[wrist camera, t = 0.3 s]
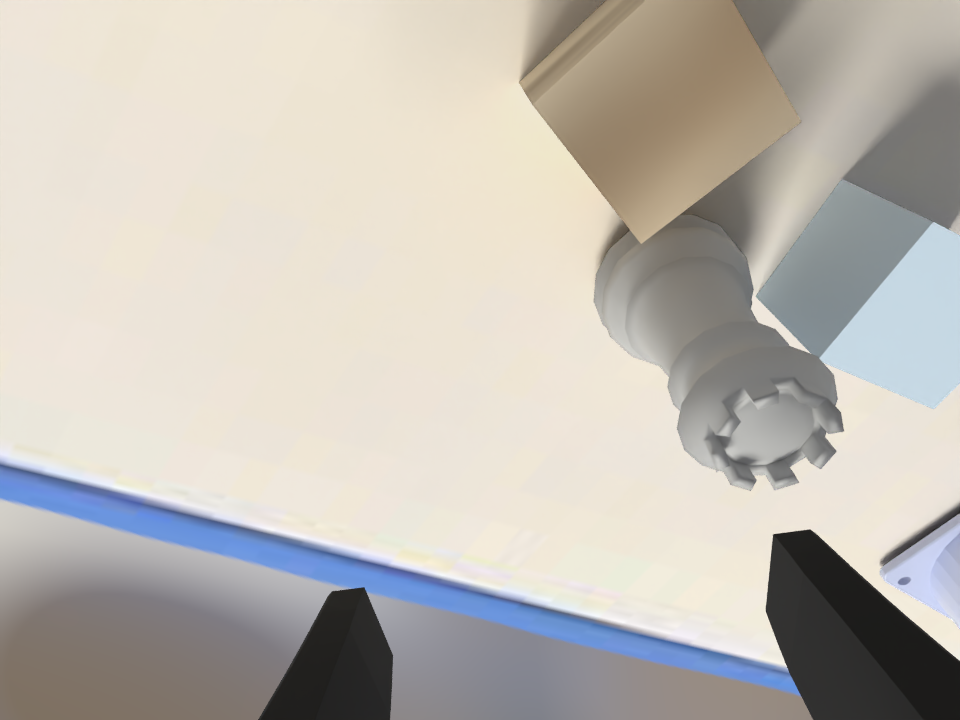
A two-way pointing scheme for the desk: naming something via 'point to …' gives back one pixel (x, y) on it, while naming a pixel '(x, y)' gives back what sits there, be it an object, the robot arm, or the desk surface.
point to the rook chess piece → (717, 353)
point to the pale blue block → (874, 294)
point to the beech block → (660, 103)
